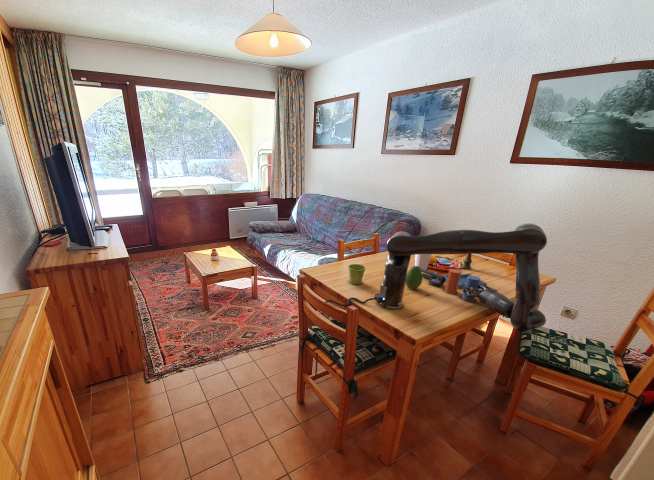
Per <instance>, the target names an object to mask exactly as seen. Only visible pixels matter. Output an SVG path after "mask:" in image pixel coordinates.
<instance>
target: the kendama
mask: <svg viewBox="0 0 654 480" xmlns="http://www.w3.org/2000/svg"><path fill="white" fill-rule="evenodd" d="M472 263H473V260H472V254H466V256H465V259H463V263H462V265H461V266H460V267H461V269H464V270H471V269H472V266H471V265H472Z"/></svg>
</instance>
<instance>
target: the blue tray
mask: <svg viewBox="0 0 654 480" xmlns="http://www.w3.org/2000/svg"><path fill="white" fill-rule="evenodd" d="M442 276H445V278H446V281H445V282H447V278H448V274H442ZM468 276H473V275H472V274H470V273H461V276H460V280H459V284H458V288H457V289H462V288H461V284H462V283H464V284H466V280H467V277H468ZM479 285H482V286H483V287H484V286H488V283H487V282H485V281H483V280H481V279H480V283H479Z"/></svg>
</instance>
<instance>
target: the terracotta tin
mask: <svg viewBox="0 0 654 480" xmlns="http://www.w3.org/2000/svg"><path fill="white" fill-rule="evenodd" d="M461 274H462V271H461V270H460V269H456V268H453V269H452V268H450V269H449V270H448V273H447V275H448V278H447V281H445V286H444V287H445V288H444V292H445V293H446V294H451V295H456V294H457V292H458V289H459V288H458V284H459V280H460V276H461Z"/></svg>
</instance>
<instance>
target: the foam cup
mask: <svg viewBox="0 0 654 480" xmlns="http://www.w3.org/2000/svg"><path fill="white" fill-rule="evenodd" d="M432 255H433V254H416V255H414V256H415V258H414V266H419V267H420V269H421V270H427V269H428V267H429V264H430V261H431V259H432Z"/></svg>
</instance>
